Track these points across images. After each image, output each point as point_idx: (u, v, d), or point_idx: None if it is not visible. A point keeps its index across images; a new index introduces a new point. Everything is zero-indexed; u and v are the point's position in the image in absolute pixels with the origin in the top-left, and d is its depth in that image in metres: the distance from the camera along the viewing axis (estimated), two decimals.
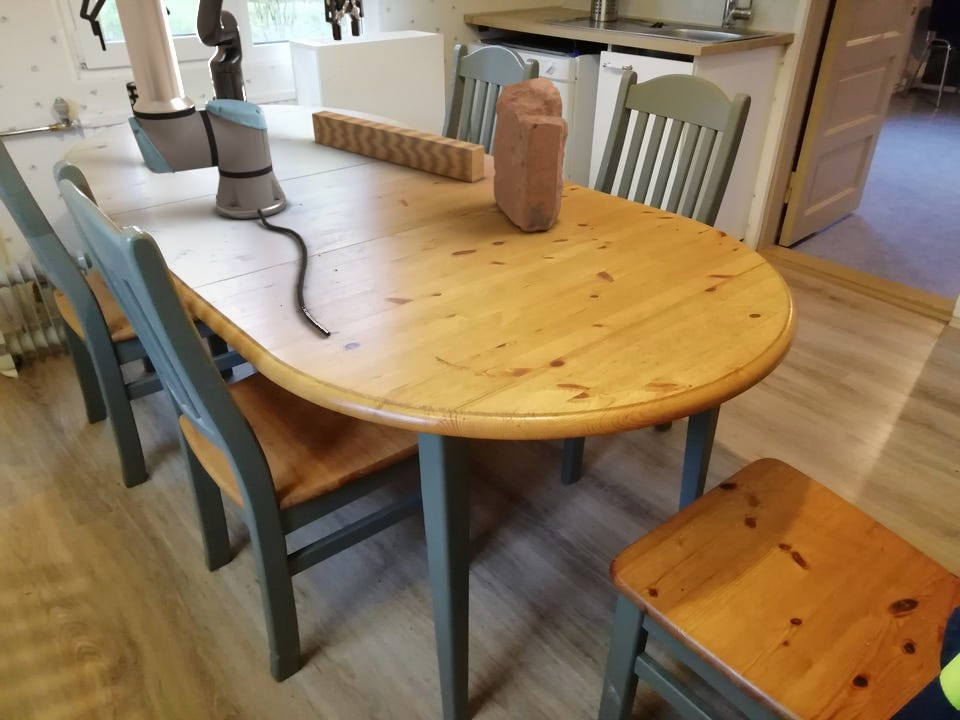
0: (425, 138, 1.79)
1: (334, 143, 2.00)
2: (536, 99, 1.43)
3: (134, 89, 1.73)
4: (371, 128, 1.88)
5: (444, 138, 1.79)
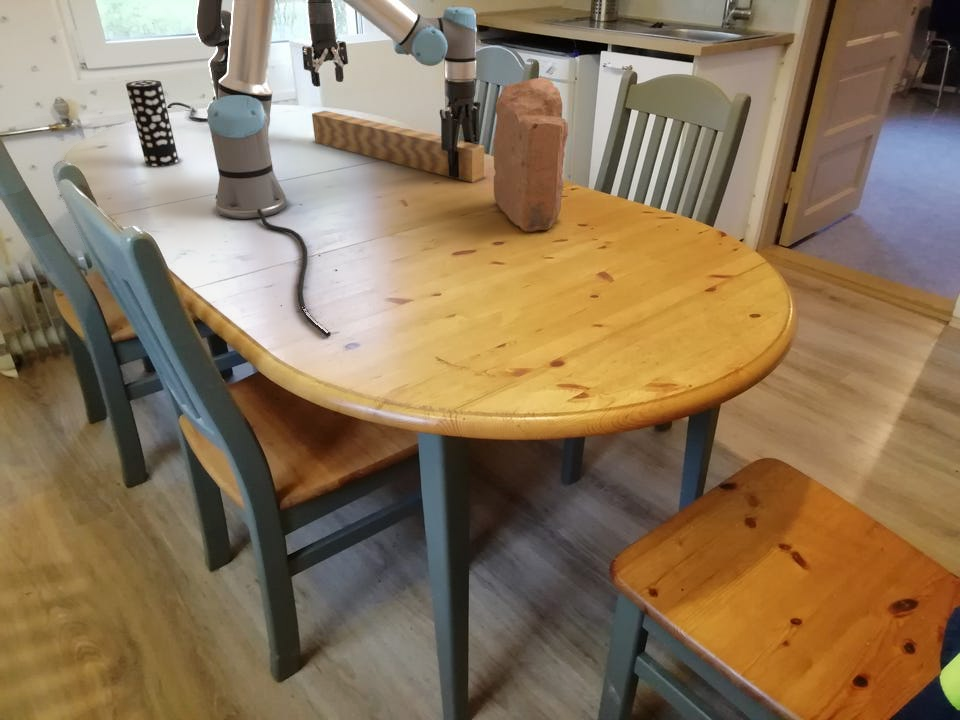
0: (425, 138, 1.79)
1: (334, 143, 2.00)
2: (536, 99, 1.43)
3: (134, 89, 1.73)
4: (371, 128, 1.88)
5: None
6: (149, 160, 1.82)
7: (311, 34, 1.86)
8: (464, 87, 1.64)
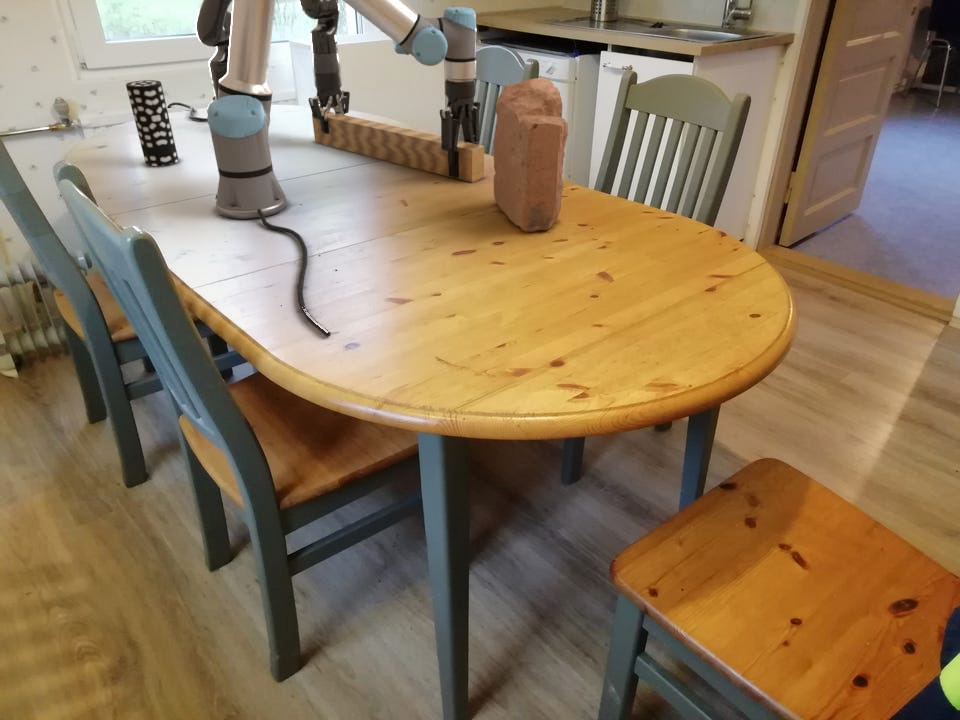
0: (425, 138, 1.79)
1: (334, 143, 2.00)
2: (536, 99, 1.43)
3: (134, 89, 1.73)
4: (371, 128, 1.88)
5: None
6: (149, 160, 1.82)
7: (316, 83, 1.92)
8: (464, 87, 1.64)
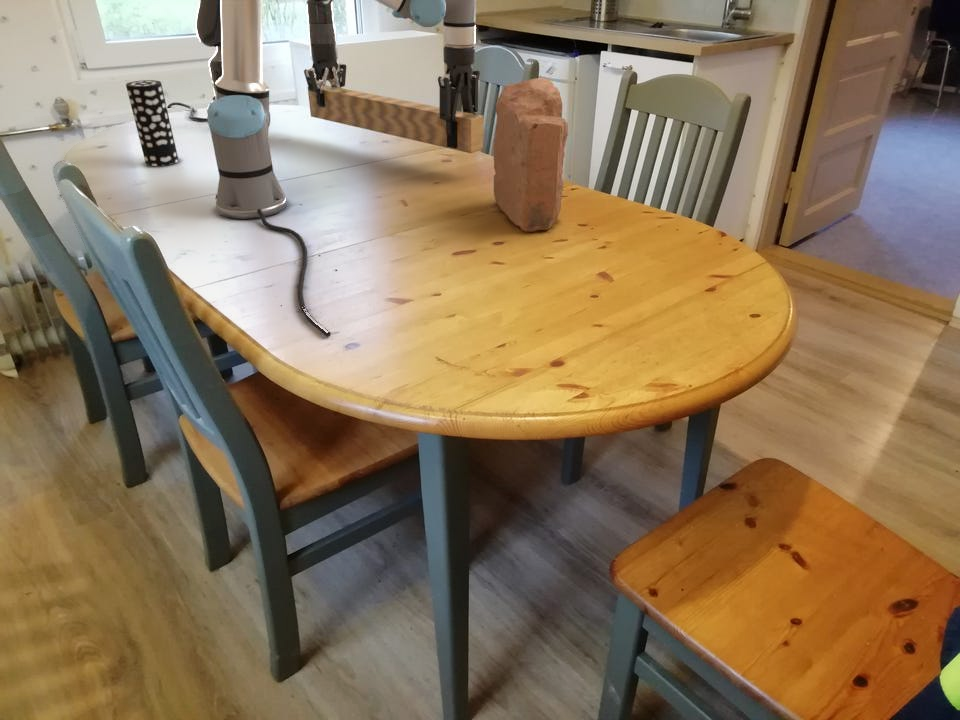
0: (423, 109, 1.75)
1: (330, 117, 1.96)
2: (536, 99, 1.43)
3: (134, 89, 1.73)
4: (368, 100, 1.84)
5: None
6: (149, 160, 1.82)
7: (312, 54, 1.88)
8: (463, 53, 1.60)
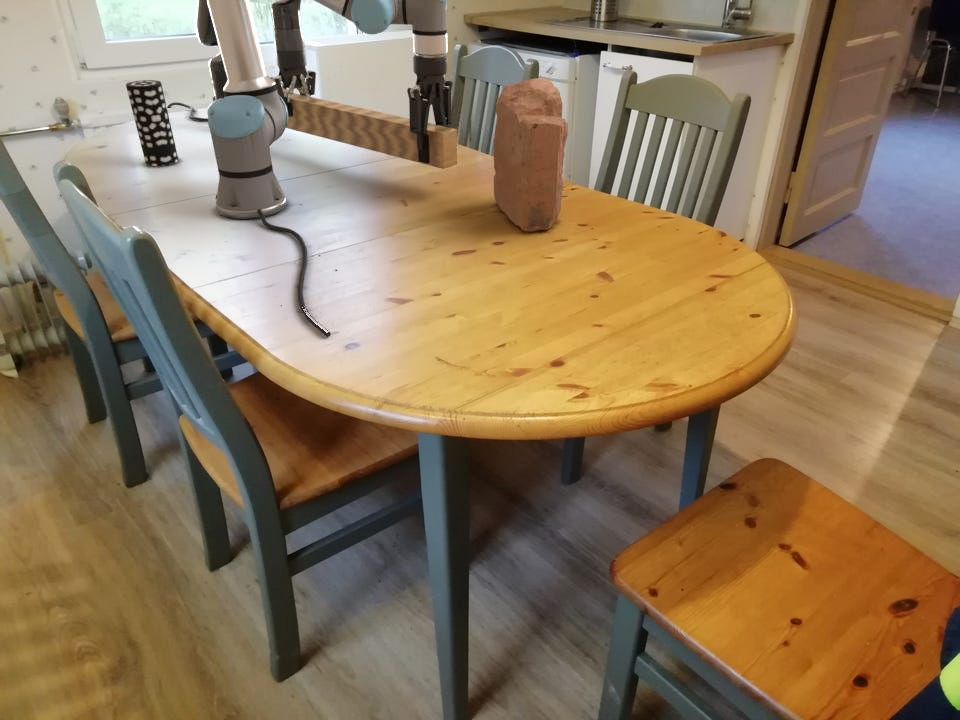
0: (393, 121, 1.65)
1: (298, 127, 1.86)
2: (536, 99, 1.43)
3: (134, 89, 1.73)
4: (337, 110, 1.74)
5: None
6: (149, 160, 1.82)
7: (278, 61, 1.78)
8: (434, 63, 1.50)
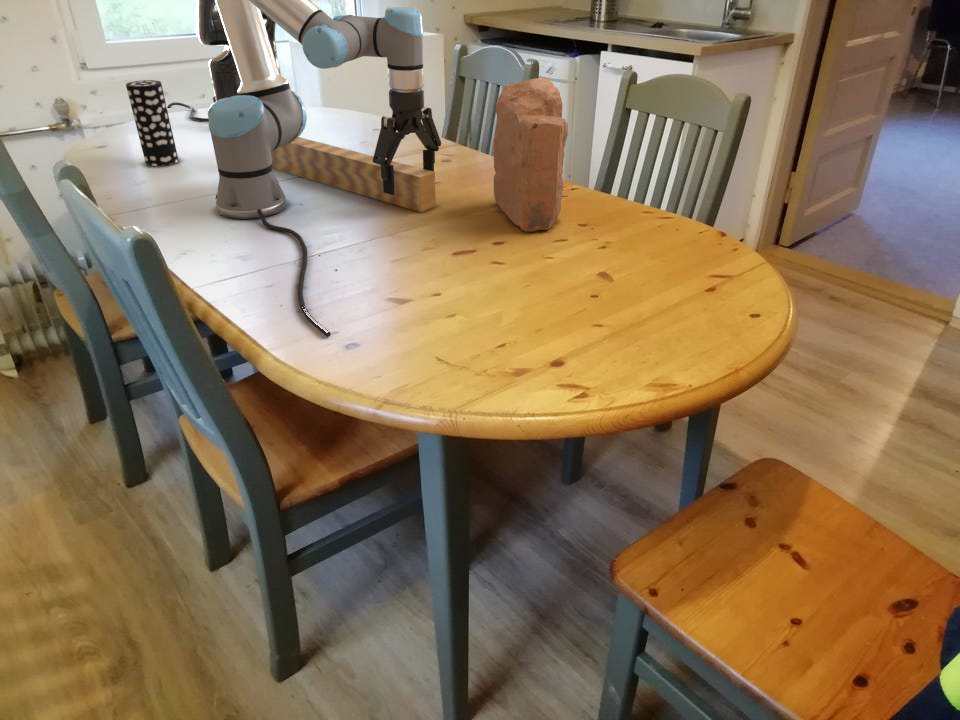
0: (370, 162, 1.61)
1: (276, 165, 1.82)
2: (536, 99, 1.43)
3: (134, 89, 1.73)
4: (313, 150, 1.70)
5: (392, 162, 1.61)
6: (149, 160, 1.82)
7: None
8: (410, 98, 1.45)
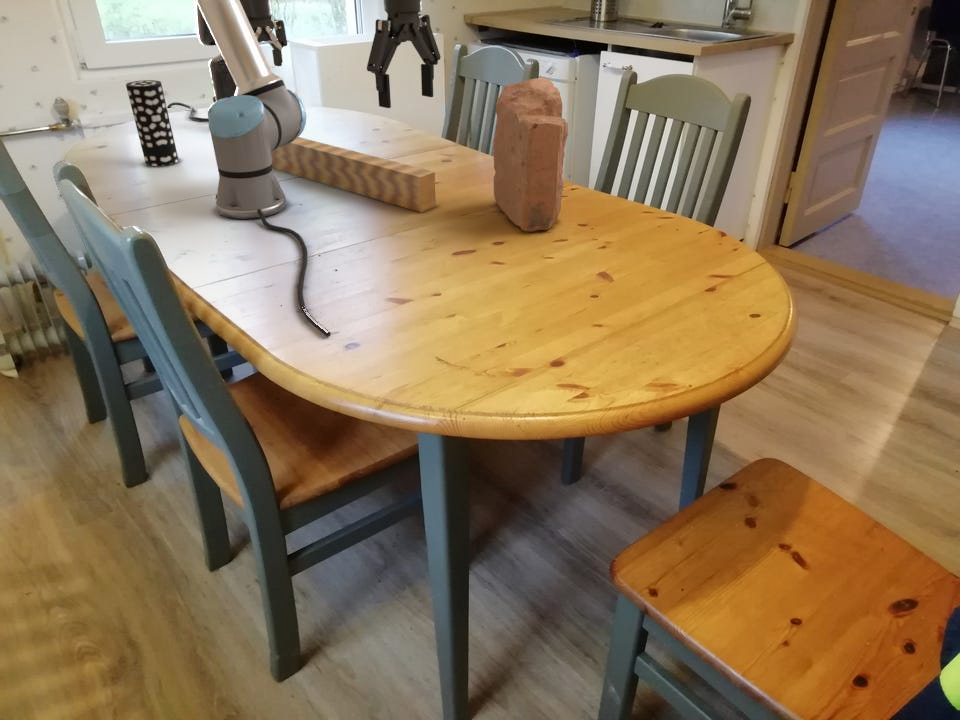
0: (370, 162, 1.61)
1: (276, 165, 1.82)
2: (536, 99, 1.43)
3: (134, 89, 1.73)
4: (313, 150, 1.70)
5: (392, 162, 1.61)
6: (149, 160, 1.82)
7: None
8: None
